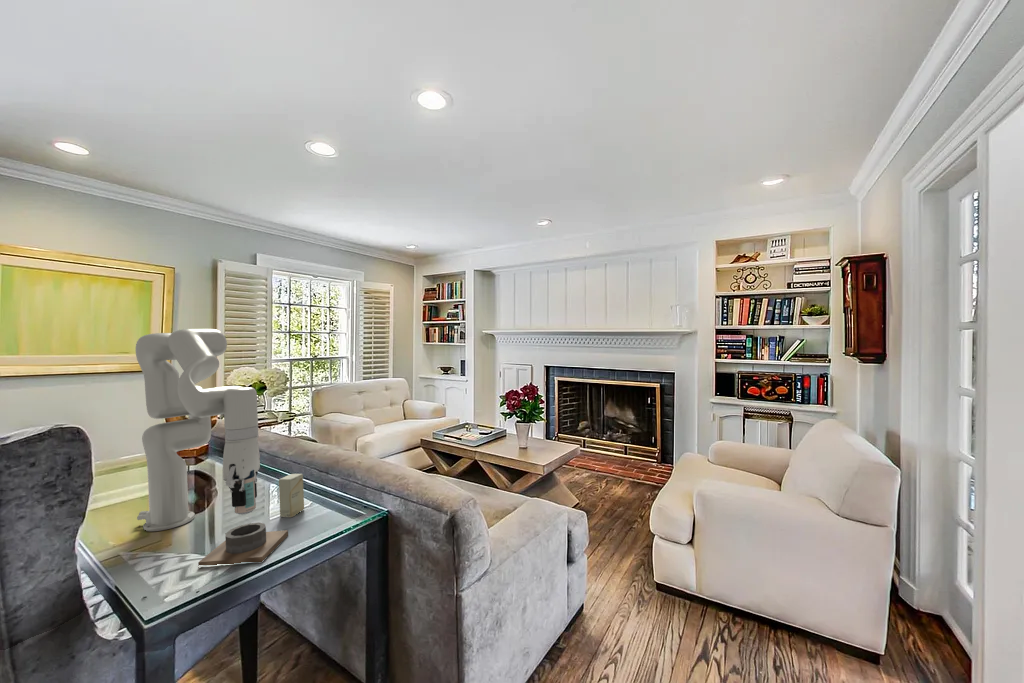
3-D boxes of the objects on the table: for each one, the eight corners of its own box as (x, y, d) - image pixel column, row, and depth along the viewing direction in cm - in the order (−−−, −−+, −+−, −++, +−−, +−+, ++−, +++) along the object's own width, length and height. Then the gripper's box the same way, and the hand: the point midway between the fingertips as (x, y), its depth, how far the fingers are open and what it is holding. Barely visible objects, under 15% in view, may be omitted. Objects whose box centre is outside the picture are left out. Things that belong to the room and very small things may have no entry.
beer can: (241, 508, 114) (239, 464, 114) (259, 507, 114) (257, 463, 114) (230, 516, 109) (228, 470, 109) (249, 514, 110) (248, 468, 110)
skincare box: (291, 518, 132) (289, 479, 132) (279, 517, 133) (277, 479, 133) (305, 510, 138) (303, 473, 138) (293, 509, 139) (291, 473, 139)
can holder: (198, 568, 104) (197, 546, 104) (232, 539, 118) (231, 520, 118) (262, 562, 105) (261, 540, 105) (288, 535, 120) (287, 516, 120)
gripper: (244, 428, 120) (246, 492, 120) (207, 442, 103) (210, 516, 103) (271, 426, 121) (274, 490, 121) (239, 440, 104) (242, 513, 104)
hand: (244, 501), depth 112 cm, fingers closed on beer can, 4 cm apart
